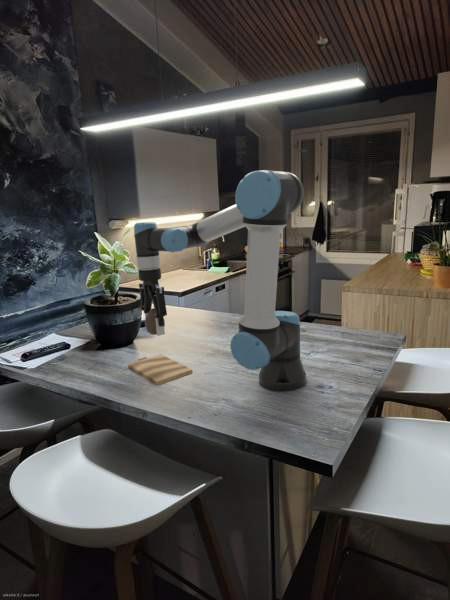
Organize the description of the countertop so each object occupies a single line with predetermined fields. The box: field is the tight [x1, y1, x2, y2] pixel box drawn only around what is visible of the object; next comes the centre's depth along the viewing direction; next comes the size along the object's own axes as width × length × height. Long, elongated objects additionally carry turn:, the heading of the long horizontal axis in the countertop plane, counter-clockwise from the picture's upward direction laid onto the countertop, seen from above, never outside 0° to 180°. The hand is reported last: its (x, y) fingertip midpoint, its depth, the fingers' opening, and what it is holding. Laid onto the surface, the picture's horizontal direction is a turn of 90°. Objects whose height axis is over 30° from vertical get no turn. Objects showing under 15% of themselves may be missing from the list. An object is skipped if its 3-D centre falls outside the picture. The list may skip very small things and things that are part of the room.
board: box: [127, 353, 193, 386], centre depth 148 cm, size 24×14×1 cm, turn 38°
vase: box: [144, 308, 166, 336], centre depth 143 cm, size 7×7×9 cm
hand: (155, 332), depth 144 cm, fingers closed on vase, 7 cm apart
